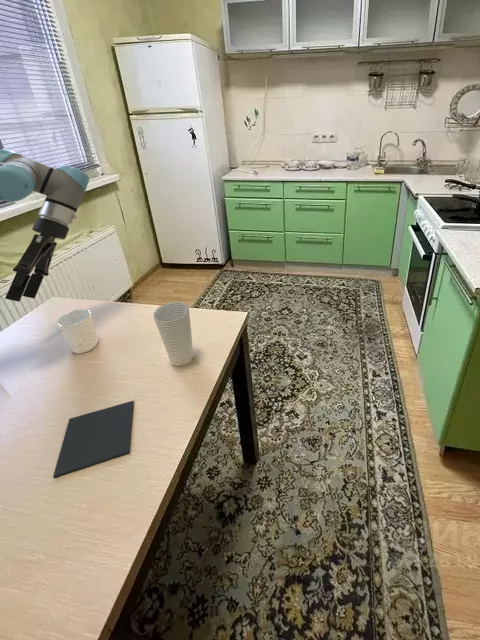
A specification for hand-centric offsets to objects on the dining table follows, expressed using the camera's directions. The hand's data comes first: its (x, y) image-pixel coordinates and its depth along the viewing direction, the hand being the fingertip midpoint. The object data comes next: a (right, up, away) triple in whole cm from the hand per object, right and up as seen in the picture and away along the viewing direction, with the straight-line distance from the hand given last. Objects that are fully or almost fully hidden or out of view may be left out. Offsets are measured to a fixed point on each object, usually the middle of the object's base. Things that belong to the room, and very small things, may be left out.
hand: (20, 298), depth 83 cm
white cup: (+10, -15, +11) cm, 21 cm away
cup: (+40, -17, +5) cm, 43 cm away
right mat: (+29, -27, -15) cm, 42 cm away
